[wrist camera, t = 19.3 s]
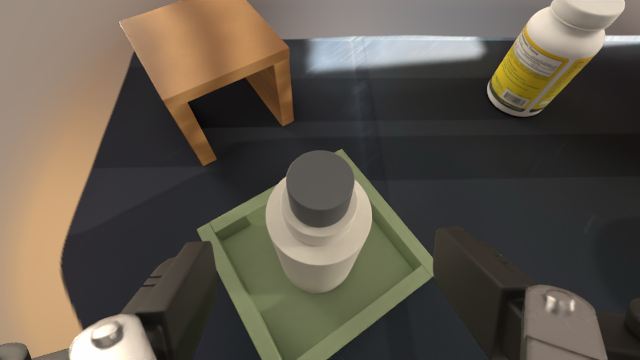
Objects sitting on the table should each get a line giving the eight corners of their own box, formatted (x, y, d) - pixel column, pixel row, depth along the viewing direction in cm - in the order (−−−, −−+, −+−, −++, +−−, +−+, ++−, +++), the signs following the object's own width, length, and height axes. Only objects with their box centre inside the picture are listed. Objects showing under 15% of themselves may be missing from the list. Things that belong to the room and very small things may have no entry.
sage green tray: (284, 388, 21) (279, 396, 18) (210, 243, 25) (196, 229, 22) (426, 278, 24) (442, 268, 21) (338, 169, 29) (341, 148, 26)
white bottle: (306, 309, 22) (298, 273, 11) (268, 246, 24) (230, 162, 13) (366, 266, 23) (414, 196, 12) (326, 211, 25) (336, 107, 14)
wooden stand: (204, 168, 29) (162, 100, 21) (165, 100, 32) (118, 21, 25) (295, 122, 31) (289, 47, 24) (249, 64, 35) (231, -17, 27)
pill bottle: (534, 78, 35) (619, -24, 25) (549, 121, 32) (651, 24, 22) (480, 75, 35) (543, -28, 25) (490, 116, 32) (566, 18, 23)
